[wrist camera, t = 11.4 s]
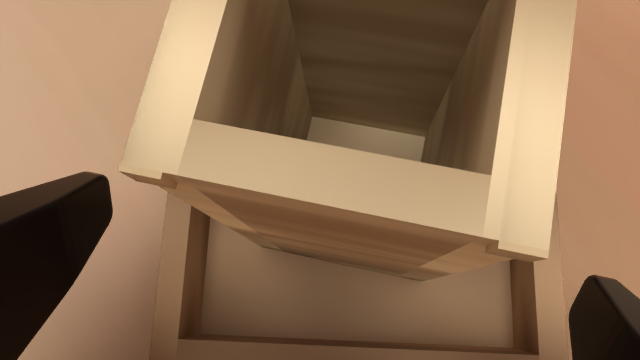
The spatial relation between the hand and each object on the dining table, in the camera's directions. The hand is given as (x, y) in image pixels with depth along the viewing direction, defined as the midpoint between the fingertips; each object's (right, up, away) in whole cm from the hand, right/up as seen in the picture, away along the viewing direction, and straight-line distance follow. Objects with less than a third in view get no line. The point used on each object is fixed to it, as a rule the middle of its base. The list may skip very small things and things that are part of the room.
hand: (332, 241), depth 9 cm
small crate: (+1, +1, +8) cm, 9 cm away
